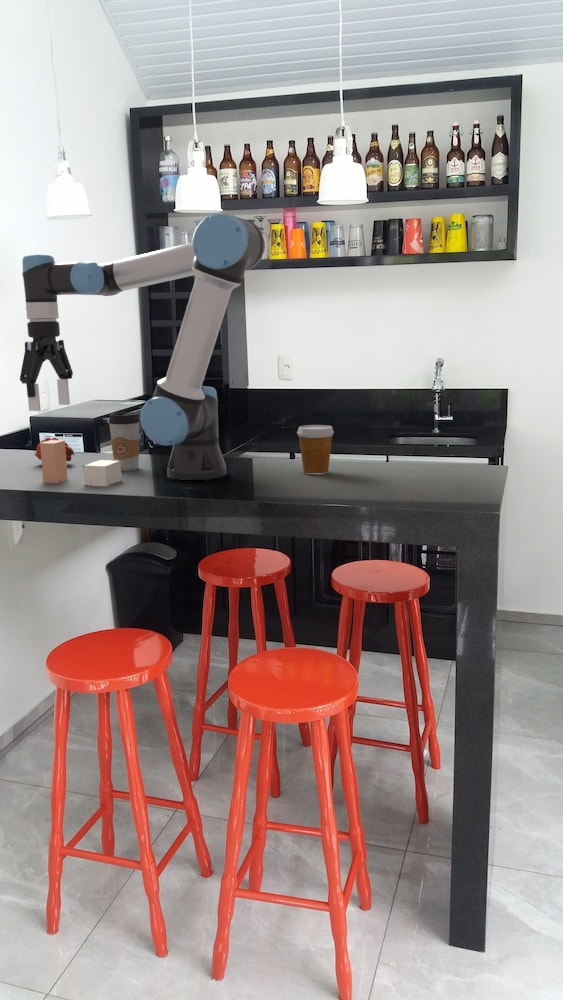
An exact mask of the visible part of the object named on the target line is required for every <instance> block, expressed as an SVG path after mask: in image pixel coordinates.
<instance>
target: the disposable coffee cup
mask: <svg viewBox="0 0 563 1000" xmlns="http://www.w3.org/2000/svg"><path fill="white" fill-rule="evenodd" d="M334 433H335V431H334V428H333V426H331V425H324V424H309V425H308V424H307V425H301V426H299V427H298V429H297V431H296V434H297V436H298V439H299V440H298V442H299V447H300V454H301V461H302V462H301V464H302V469H303V473H304V472H305V473H325V472H328V473H329V468H330V457H331V452H332V451H331V450H332V442H333V436H334Z"/></svg>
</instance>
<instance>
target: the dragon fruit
mask: <svg viewBox="0 0 563 1000" xmlns="http://www.w3.org/2000/svg"><path fill="white" fill-rule="evenodd" d="M50 440H59V439H58V437H57V438H56V437H52V438H51V437H46V438H45V439H42V440H41V441H40V442H39V443H38V444H37V445H36V452H35V453H34V456H35V457H37V458H38V460H40V461H41V449H40V443H42V442H46V441H50ZM65 450H66V462H71V461H72V458H73V456H75V451H74V449H73V448H72V447H70V446H69V444H68V443H67V442H66V441H65Z"/></svg>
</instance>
